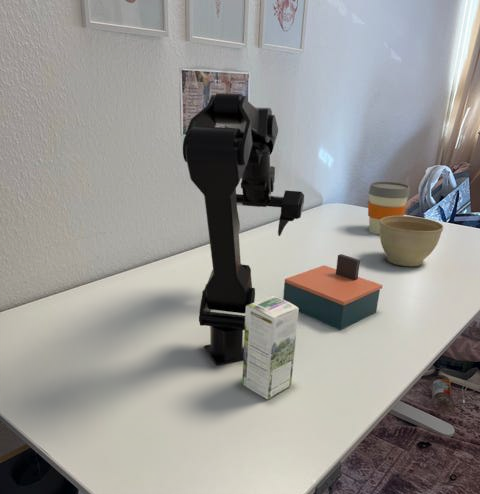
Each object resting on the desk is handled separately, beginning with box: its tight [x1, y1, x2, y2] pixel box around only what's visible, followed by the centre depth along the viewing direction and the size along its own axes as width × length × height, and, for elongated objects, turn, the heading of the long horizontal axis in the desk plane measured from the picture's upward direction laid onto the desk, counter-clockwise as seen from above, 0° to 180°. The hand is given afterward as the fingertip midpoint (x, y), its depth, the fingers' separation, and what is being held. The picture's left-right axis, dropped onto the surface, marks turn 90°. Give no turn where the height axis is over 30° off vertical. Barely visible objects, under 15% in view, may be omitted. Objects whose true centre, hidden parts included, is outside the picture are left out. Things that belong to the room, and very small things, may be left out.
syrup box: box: [241, 295, 300, 400], centre depth 74 cm, size 6×6×14 cm
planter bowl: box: [379, 215, 445, 267], centre depth 130 cm, size 16×16×11 cm
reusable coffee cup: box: [367, 181, 411, 236], centre depth 155 cm, size 13×12×15 cm
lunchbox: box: [282, 282, 381, 331], centre depth 102 cm, size 13×16×5 cm
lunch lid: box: [284, 253, 383, 306], centre depth 100 cm, size 13×16×5 cm
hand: (259, 232), depth 105 cm, fingers open, 9 cm apart
